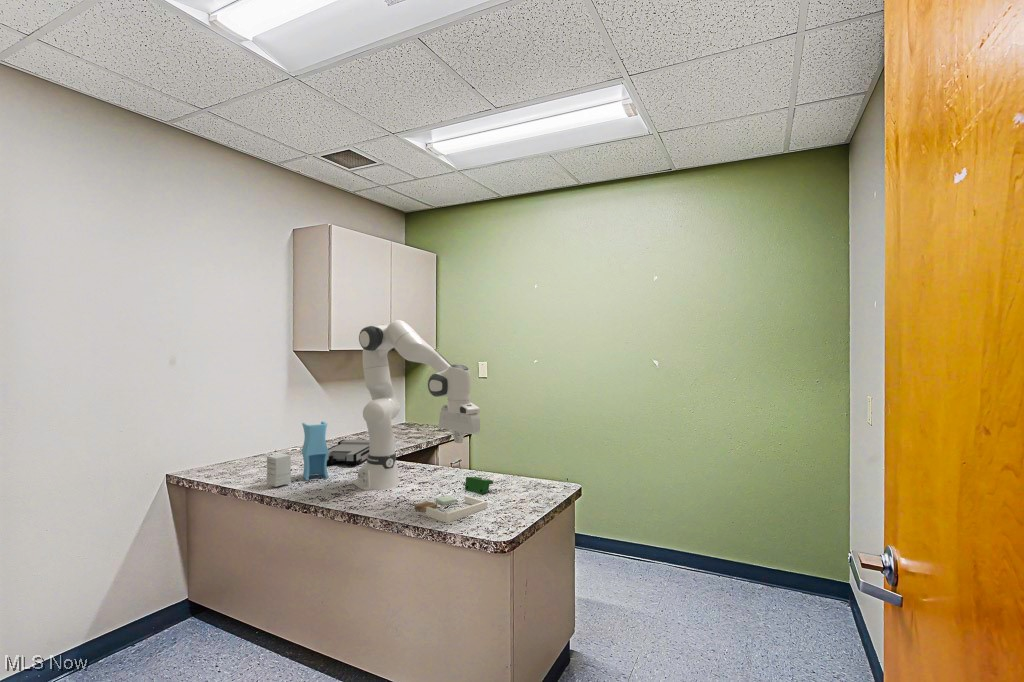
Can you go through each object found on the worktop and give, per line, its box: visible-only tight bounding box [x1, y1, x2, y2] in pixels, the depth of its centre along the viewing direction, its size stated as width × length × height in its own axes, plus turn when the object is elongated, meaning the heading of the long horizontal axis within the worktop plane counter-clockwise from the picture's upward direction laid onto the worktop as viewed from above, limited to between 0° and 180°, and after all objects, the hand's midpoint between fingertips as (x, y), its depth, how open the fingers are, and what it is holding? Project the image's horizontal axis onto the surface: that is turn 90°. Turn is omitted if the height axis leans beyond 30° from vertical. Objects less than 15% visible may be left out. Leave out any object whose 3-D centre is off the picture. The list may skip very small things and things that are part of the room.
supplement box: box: [266, 452, 292, 487], centre depth 228 cm, size 7×7×13 cm
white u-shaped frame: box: [425, 495, 488, 524], centre depth 189 cm, size 12×20×3 cm, turn 138°
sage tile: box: [435, 495, 458, 506], centre depth 201 cm, size 6×6×2 cm
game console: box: [327, 439, 369, 466], centre depth 274 cm, size 21×32×8 cm, turn 175°
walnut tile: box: [414, 500, 438, 513], centre depth 194 cm, size 6×6×2 cm
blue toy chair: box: [301, 421, 329, 481], centre depth 241 cm, size 10×10×25 cm
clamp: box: [464, 476, 494, 495], centre depth 216 cm, size 12×6×9 cm, turn 44°
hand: (458, 442), depth 197 cm, fingers closed
